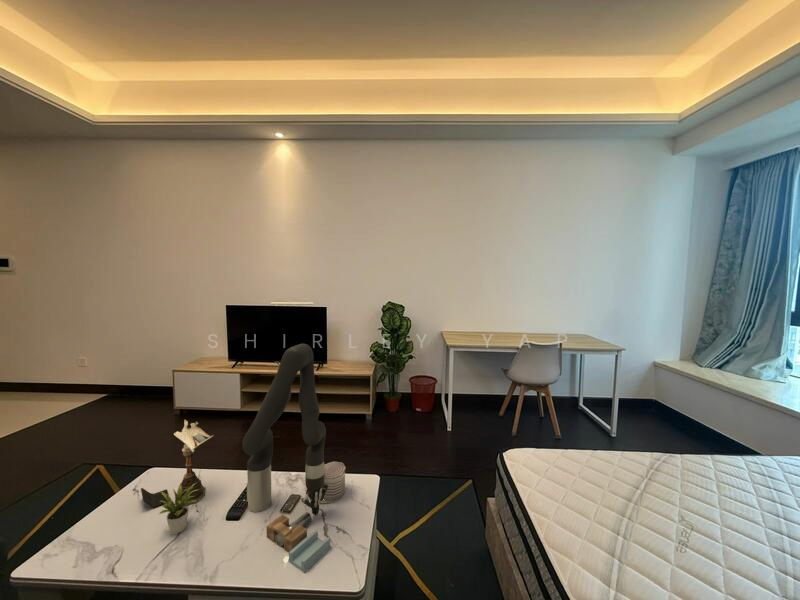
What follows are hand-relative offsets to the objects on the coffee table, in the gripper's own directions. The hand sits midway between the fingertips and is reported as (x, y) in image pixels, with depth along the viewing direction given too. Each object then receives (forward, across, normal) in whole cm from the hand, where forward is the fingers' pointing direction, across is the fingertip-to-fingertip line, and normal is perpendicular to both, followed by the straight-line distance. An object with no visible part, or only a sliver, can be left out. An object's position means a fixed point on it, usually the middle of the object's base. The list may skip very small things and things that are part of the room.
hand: (315, 513), depth 133 cm
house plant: (+1, +33, -38) cm, 50 cm away
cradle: (+1, +14, +12) cm, 19 cm away
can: (+1, -14, -4) cm, 14 cm away
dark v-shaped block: (+2, +31, -65) cm, 72 cm away
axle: (-1, +11, 0) cm, 11 cm away
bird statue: (+1, +20, -53) cm, 57 cm away
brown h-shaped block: (+1, +14, 0) cm, 14 cm away
